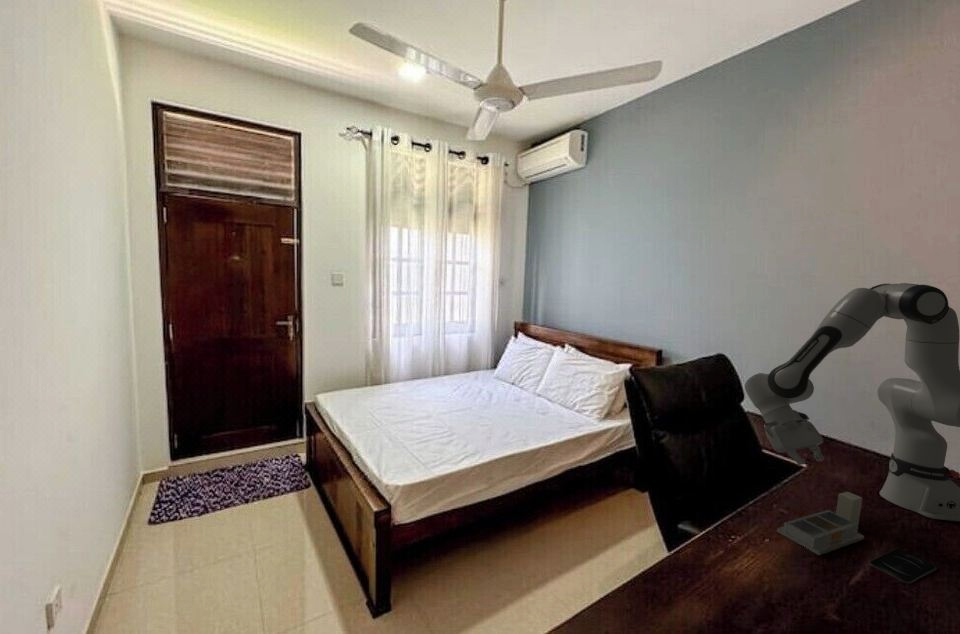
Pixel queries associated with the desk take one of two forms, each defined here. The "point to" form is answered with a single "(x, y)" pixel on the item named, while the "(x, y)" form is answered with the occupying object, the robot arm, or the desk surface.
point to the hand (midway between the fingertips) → (811, 462)
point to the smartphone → (903, 566)
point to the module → (849, 506)
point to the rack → (822, 531)
